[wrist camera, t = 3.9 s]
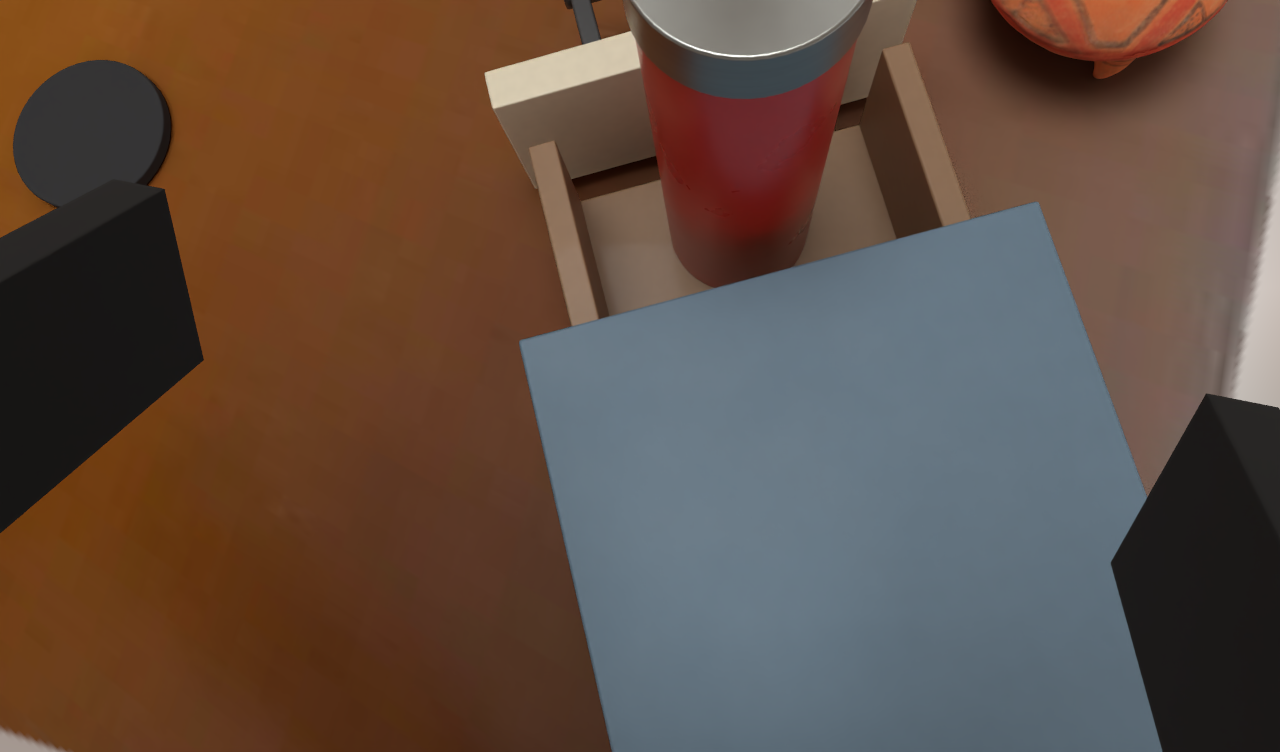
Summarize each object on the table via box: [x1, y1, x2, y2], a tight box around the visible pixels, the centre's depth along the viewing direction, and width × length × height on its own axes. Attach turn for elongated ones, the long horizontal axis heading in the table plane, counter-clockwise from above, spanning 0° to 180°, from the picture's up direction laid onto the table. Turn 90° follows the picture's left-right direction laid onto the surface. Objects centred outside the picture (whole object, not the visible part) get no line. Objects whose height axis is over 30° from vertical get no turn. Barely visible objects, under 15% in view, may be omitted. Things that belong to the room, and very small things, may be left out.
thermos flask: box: [623, 0, 873, 288], centre depth 22 cm, size 5×5×14 cm
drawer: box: [485, 0, 971, 326], centre depth 27 cm, size 17×12×6 cm
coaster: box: [13, 60, 171, 208], centre depth 34 cm, size 6×6×1 cm
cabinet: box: [519, 202, 1162, 752], centre depth 25 cm, size 14×14×8 cm
